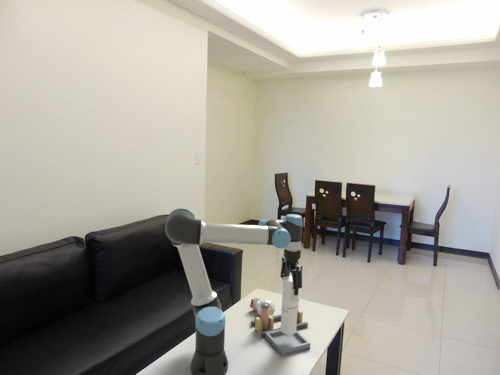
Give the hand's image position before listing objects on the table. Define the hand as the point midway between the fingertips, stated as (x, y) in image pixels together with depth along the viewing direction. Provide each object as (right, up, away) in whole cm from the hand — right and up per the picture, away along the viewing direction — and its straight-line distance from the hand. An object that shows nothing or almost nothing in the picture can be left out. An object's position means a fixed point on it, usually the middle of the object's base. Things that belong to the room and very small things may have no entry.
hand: (290, 297), depth 158 cm
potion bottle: (-12, -19, +29) cm, 36 cm away
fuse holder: (-3, -20, +18) cm, 27 cm away
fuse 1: (-11, -20, +14) cm, 27 cm away
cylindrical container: (-1, -16, +2) cm, 16 cm away
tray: (-1, -22, +3) cm, 22 cm away
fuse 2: (+4, -20, +21) cm, 29 cm away
